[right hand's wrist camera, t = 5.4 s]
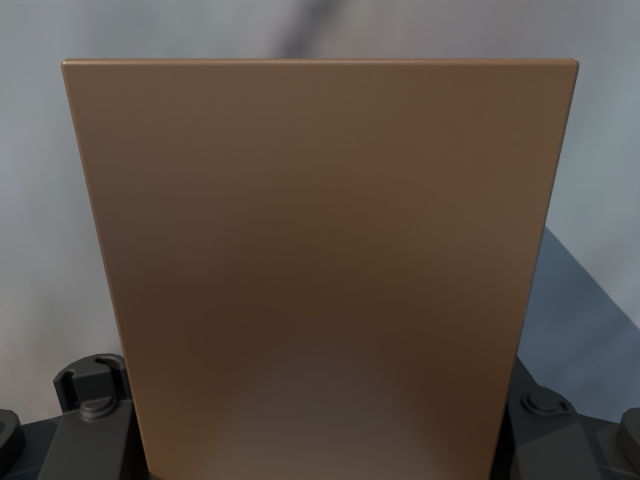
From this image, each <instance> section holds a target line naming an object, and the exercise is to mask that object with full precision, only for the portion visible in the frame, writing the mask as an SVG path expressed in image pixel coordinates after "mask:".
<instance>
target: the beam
mask: <svg viewBox="0 0 640 480" xmlns="http://www.w3.org/2000/svg"><path fill="white" fill-rule="evenodd" d="M61 68H62V73H63V78H64V82H65V87H66V92H67V96H68V101H69V105H70V110H71V115H72V119H73V124H74V129H75V133H76V138H77V142H78V147H79V152H80V156H81V161H82V165H83V170H84V175H85V179H86V184H87V189H88V193H89V198H90V202H91V207H92V212H93V216H94V221H95V225H96V230H97V235H98V239H99V244H100V249H101V253H102V258H103V262H104V267H105V272H106V276H107V281H108V286H109V290H110V295H111V299H112V304H113V309H114V313H115V318H116V322H117V327H118V332H119V336H120V341H121V346H122V350H123V355H124V359H125V364H126V369H127V373H128V378H129V382H130V387H131V392H132V396H133V401H134V406H135V410H136V415H137V419H138V424H139V429H140V433H141V438H142V443H143V447H144V452H145V456H146V461H147V466H148V470H149V475H150V479H151V480H490V476H491V471H492V466H493V462H494V457H495V453H496V448H497V443H498V439H499V434H500V429H501V425H502V420H503V416H504V411H505V406H506V402H507V397H508V393H509V388H510V383H511V379H512V374H513V370H514V365H515V360H516V356H517V351H518V346H519V342H520V337H521V333H522V328H523V323H524V319H525V314H526V310H527V305H528V300H529V296H530V291H531V287H532V282H533V277H534V273H535V268H536V263H537V259H538V254H539V250H540V245H541V240H542V236H543V231H544V227H545V222H546V217H547V213H548V208H549V204H550V199H551V194H552V190H553V185H554V181H555V176H556V171H557V167H558V162H559V157H560V153H561V148H562V144H563V139H564V134H565V130H566V125H567V121H568V116H569V111H570V107H571V102H572V98H573V93H574V88H575V84H576V79H577V74H578V70H579V62H578V61H576V60H574V59H66V60H64V61H62V62H61Z"/></svg>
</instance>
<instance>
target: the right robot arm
mask: <svg viewBox="0 0 640 480" xmlns="http://www.w3.org/2000/svg"><path fill="white" fill-rule="evenodd" d="M53 382H54V386H55V389H56V392H57V396H58V399H59V402H60V406H61V409H62V412H63V414H62V416H58V417H55V418H51V419H47V420H42V421H38V422H34V423H29V424H25V425H21V423H20V421H19V418H18V415H16V414H15V413H14V412H13V411H11V410H3V409H0V480H151V479H150V475H149V470H148V466H147V461H146V456H145V452H144V447H143V443H142V438H141V433H140V429H139V424H138V419H137V415H136V410H135V406H134V401H133V396H132V392H131V387H130V382H129V378H128V373H127V369H126V364H125V359H124V357H123V358H122V357H121V356H119V355H115V354H111V353H108V354H96V355H92V356H89V357H85V358H82V359H80V360H78V361H76V362H74V363H71V364H70V365H68V366H67V367H66V368H64V369H63V370H62V371H60V372H59V373H58V375H57V376H56V377H55V379H54V380H53ZM490 480H640V408H632V409H629V410H627V411H626V412H625V413H624V414H623V416H622V419H621V422H620V424H618V423H614V422H609V421H605V420H601V419H596V418H592V417H588V416H584V415H581V414H578V413H577V412H576V410H575V409H574V407H573V406H572V404H571V403H570V402H569V401H567V400H566V399H565V398H564V397H563V396H561V395H560V394H558V393H556V392H554V391H552V390H550V389H548V388H545V387H542V386H538V384H537V383H536V381H535V380H534V379H533V377H532V376H531V375H530V373H529V372H528V370H527V369H526V368H525V366H524V365H523V364H522V362H521V361H520V359H519V358H518V357H517V356H516V360H515V365H514V370H513V374H512V379H511V383H510V388H509V393H508V397H507V402H506V406H505V411H504V416H503V420H502V425H501V429H500V434H499V439H498V443H497V448H496V453H495V457H494V462H493V466H492V471H491V476H490Z"/></svg>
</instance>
